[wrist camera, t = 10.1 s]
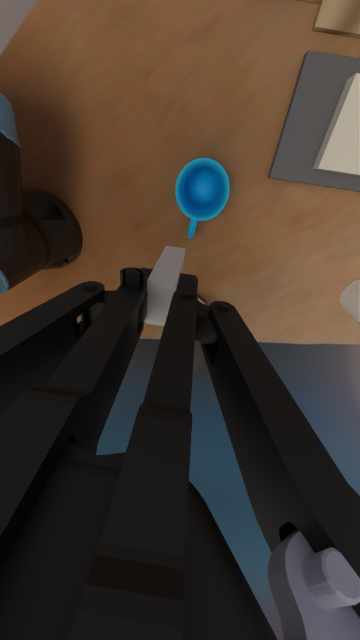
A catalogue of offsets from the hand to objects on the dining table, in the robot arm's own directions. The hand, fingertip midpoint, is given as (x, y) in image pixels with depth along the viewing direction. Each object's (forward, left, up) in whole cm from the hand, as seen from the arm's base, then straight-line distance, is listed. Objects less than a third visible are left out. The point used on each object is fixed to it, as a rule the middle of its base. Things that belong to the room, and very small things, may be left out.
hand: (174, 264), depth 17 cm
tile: (+18, +14, -27) cm, 35 cm away
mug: (+1, +2, -30) cm, 30 cm away
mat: (+22, +14, -29) cm, 39 cm away
